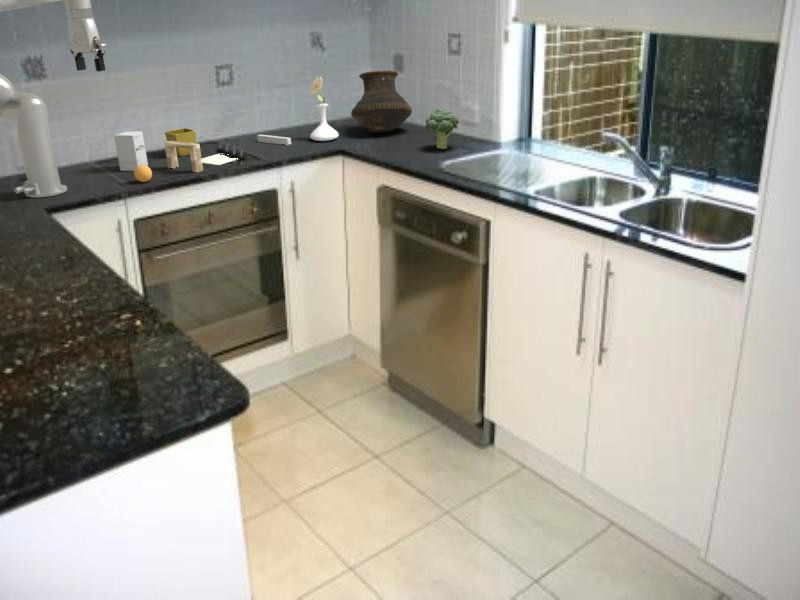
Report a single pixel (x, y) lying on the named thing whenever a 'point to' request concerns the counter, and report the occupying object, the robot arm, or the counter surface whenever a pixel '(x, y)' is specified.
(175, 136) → the flower pot
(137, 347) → the counter surface
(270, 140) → the wall
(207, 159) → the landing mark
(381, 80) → the ceramic pot
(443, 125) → the vegetable
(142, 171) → the ball
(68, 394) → the counter surface
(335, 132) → the flower in vase
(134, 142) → the supplement box
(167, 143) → the bridge
